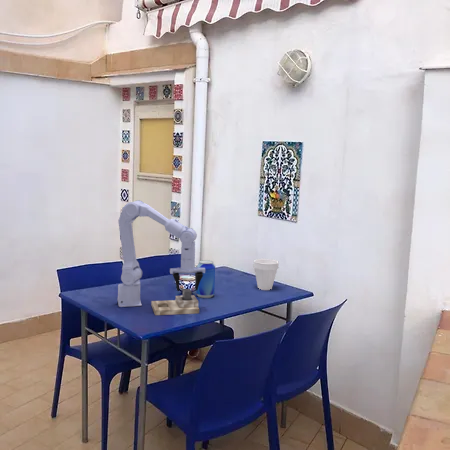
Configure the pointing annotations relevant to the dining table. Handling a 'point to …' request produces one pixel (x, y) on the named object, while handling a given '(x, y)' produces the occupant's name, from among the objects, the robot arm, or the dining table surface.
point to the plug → (186, 294)
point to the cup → (265, 272)
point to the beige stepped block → (176, 306)
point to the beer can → (206, 279)
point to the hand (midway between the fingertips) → (187, 290)
